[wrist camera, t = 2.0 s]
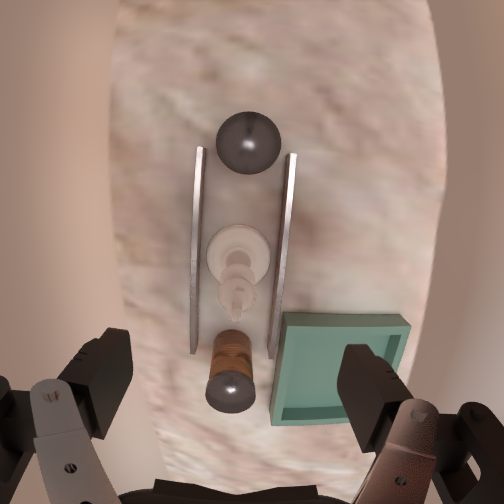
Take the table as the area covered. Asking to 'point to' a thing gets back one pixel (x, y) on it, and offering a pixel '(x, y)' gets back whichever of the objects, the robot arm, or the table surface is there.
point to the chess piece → (238, 266)
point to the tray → (326, 362)
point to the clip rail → (235, 342)
